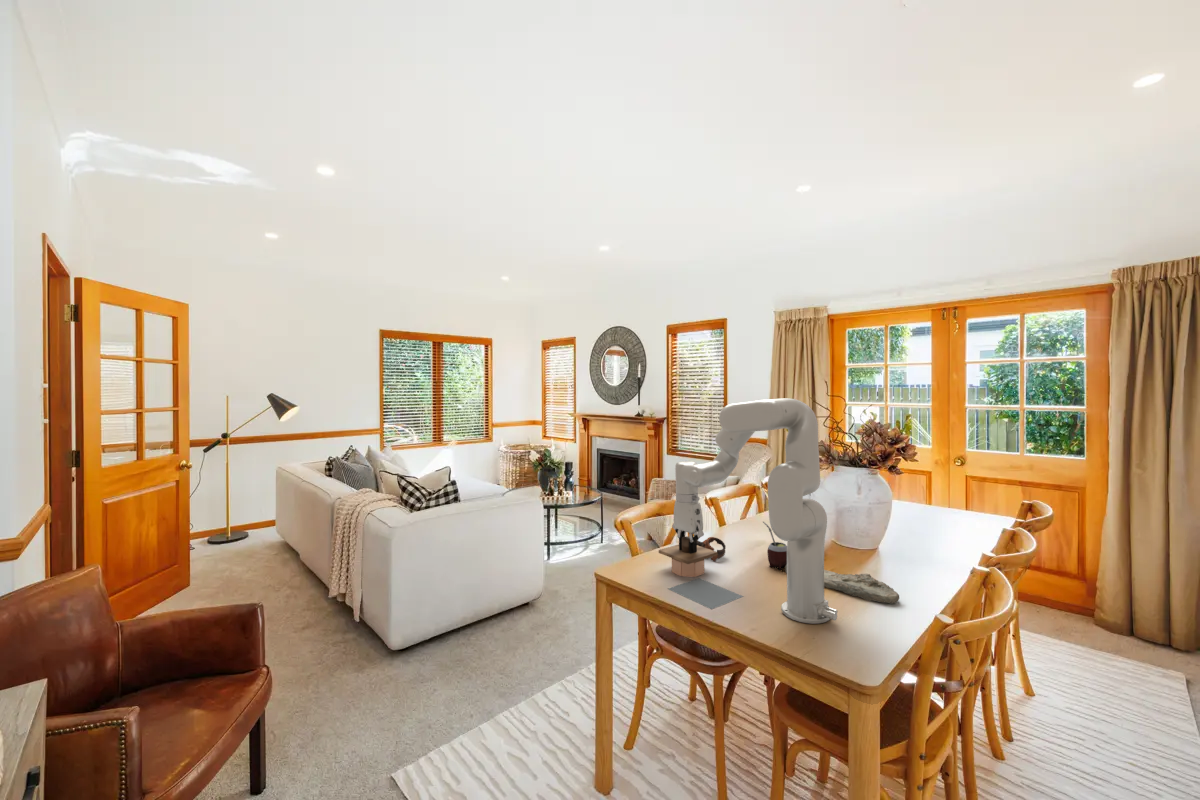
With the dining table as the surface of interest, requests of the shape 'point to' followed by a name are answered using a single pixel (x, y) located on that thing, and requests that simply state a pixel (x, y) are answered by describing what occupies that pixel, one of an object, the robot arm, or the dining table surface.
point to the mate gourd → (777, 553)
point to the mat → (705, 593)
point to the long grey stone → (860, 586)
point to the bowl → (688, 568)
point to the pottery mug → (707, 545)
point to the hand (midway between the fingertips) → (687, 550)
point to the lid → (687, 552)
